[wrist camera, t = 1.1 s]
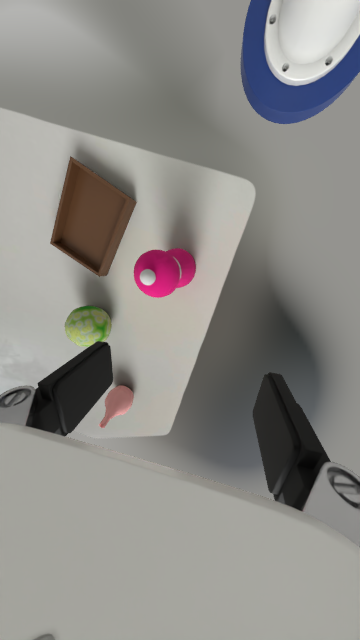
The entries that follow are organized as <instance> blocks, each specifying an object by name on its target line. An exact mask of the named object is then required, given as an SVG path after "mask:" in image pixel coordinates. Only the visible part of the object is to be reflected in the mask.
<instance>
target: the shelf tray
mask: <svg viewBox="0 0 360 640" xmlns="http://www.w3.org/2000/svg"><path fill="white" fill-rule="evenodd" d="M135 205H136V201H135V200H133V199H132V198H130V197H129V196H127V195H126V194H124V193H123V192H122V191H120V190H119V189H117V188H116V187H114V186H113V185H111V184H110V183H109V182H107V181H106V180H104V179H103V178H101V177H100V176H98V175H97V174H96V173H94V172H93V171H91V170H90V169H88V168H87V167H85V166H84V165H83V164H81V163H80V162H78V161H77V160H75V159H74V158H72V157H71V156H70V160H69V165H68V169H67V173H66V178H65V182H64V186H63V191H62V195H61V199H60V203H59V208H58V212H57V216H56V221H55V225H54V229H53V234H52V238H51V242H50V244H52V245H53V246H55V247H56V248H58V249H59V250H61V251H62V252H64V253H65V254H67V255H68V256H70V257H71V258H73V259H74V260H76V261H77V262H79V263H80V264H82V265H83V266H84V267H86V268H87V269H89V270H90V271H92V272H93V273H95V274H96V275H98V276H99V277H100V276H106V275H107V274H108V271H109V269H110V266H111V264H112V261H113V259H114V256H115V254H116V251H117V249H118V247H119V244H120V242H121V239H122V237H123V234H124V232H125V229H126V227H127V224H128V222H129V220H130V217H131V215H132V212H133V210H134V207H135Z"/></svg>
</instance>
